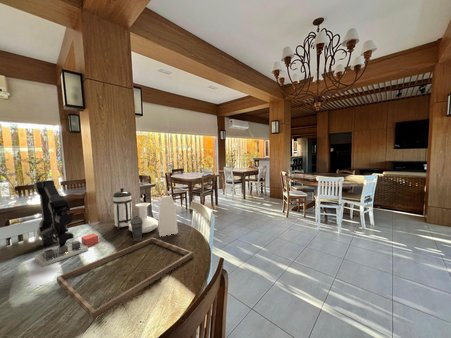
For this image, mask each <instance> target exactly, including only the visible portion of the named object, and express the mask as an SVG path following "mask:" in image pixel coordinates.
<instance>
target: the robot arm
mask: <svg viewBox="0 0 451 338" xmlns="http://www.w3.org/2000/svg"><path fill="white" fill-rule="evenodd" d="M33 189H34V190H35V193H36V194H37V195H38V196H39V199H40V201H39V202H40V210H41V221H40V222H39V225H38V228H37V231H36V232H37V236H38V237H39V238H41V243H40V244H39V245H40V246H42V247H47V246H50V245H54V244H57V245H58V248H59V247H60V246H63V245H66V243H67V241H68V240H71V239H74V233H71V231H70V232H69V229H68V227H67V226H68V225H69V224H71V223H72V221H73V216H72V215H71V214H70V213H68V212H71V205H70V203H69V201H68V199H66V197H65V196H63V195H61V194H60V193H59V191H58V189H57V187H56V185H55V181H54V180H51V179H48V180H38V181H35V183H33Z"/></svg>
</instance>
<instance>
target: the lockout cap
mask: <svg viewBox="0 0 451 338" xmlns="http://www.w3.org/2000/svg"><path fill="white" fill-rule="evenodd" d="M80 238H81V243H82V244H84V245H86V246H87V247H88V248H89V247H90V246H92V245H96V244H99V236H98V235H97V234H95V233H91V234H87V235H84V236H81V237H80Z"/></svg>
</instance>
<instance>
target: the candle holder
mask: <svg viewBox="0 0 451 338" xmlns="http://www.w3.org/2000/svg"><path fill="white" fill-rule="evenodd" d="M150 205H151V202H140V203H136V204H135V207H137V208H138V213H139V214H138V216H140V217H141V218H142V220H143V224H142V234H145V233H150V232H151V231H154V230H155V229H157V227H158V226H159V219H158V220H157V219H156V218H155V217H151V216H148V207H149V206H150ZM128 230H129V231H131V232H132V226H131V223H130V224H129V225H128Z"/></svg>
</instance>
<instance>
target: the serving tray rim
mask: <svg viewBox="0 0 451 338" xmlns="http://www.w3.org/2000/svg"><path fill="white" fill-rule="evenodd" d="M151 243H153V244H157V245H159V246H161V247H164V248H167V249H169V250H171V251H173V252H176V253H179V254H181V255H184V256H183V257H180V258H179V259H177V260H176V261H174V262H172V263H171V264H168V265H167V266H165V267H164V268H162V269H161V270H159V271H157V272H156V273H154V274H152V275H150V276H149V277H147V278H146V279H144V280H143V281H140V282H139V283H137V284H135V285H134V286H132V287H131V288H128V289H127V290H126V291H124V292H123V293H121V294H119V295H117V296H115V297H113V298H112V299H111V300H109V301H107V302H106V303H104V304H102V305H100V306H99V307H97V308H96V309H95V308H94V307H93V306H92V305H91V304H90V303H88V301H87V300H85V298H84V297H82V296H81V295H80V294H79V293H78V292H77V291H76V290H75V289H74V288H73V287H72V286H71V285H70V284H69V283H68V282H67V281H66V280H68V279H72V278H73V277H76V276H78V275H80V274H83V273H86V272H87V271H89V270H92V269H95V268H96V267H98V266H101V265H103V264H105V263H108V262H110V261H112V260H114V259H115V260H116V259H117V258H120V257H121V256H124V255H126V254H129V253H131V252H133V251H135V250H138V249H140V248H142V247H145V246H147V245H149V244H151ZM193 257H194V252H193V251H190V250H187V249H185V248H182V247H179V246H177V245H174V244H171V243H170V242H169V243H168V242H167V241H164V240H161V239H158V238H156V237H153V236H152V237H150V238H148V239H145V240H143V241H141V242H138V243H136V244H133V245H131V246H129V247H126V248H124V249H122V250H119V251H117V252H113V253H112V254H109V255H106V256H104V257H102V258H99V259H97V260H95V261H92V262H90V263H87V264H85V265H83V266H80V267H77V268H75V269H73V270H71V271H68V272H65V273H63V274H61V275H59V276H56V283H57V284H58V285H59V286H60V287H61V288H62V289H63V290H64V291H65V292H66V294H67V295H69V297H71V299H73V301H74V302H75V301H76V302H77V303H78V304H79V305H80V306H81V307H82V308H83V309H84V310H85V311H86V312H87V313H88V314H89V315H90V316H91V317H92V318H93V319H94V318H95V317H97V316H99V315H101V314H102V313H104V312H105V313H107V312H108V310H109V309H110V310H112V309H113V308H115V307H116V306H118V305H120V304H122V303H123V302H124V301H126V300H128V299H129V298H131V297H132V296H134V295H135V294H137V293H139V292H140V291H142V290H143V289H145V288H146V287H148V286H149V284H150V285H151V284H153V283H154V282H156V281H157V280H159V279H160V277H161V278H162V277H164V276H165V275H167V274H168V273H170V272H172V271H173V270H174V268H175V269H176V268H178V267H180V266H181V265H182V263H183V264H184V263H186V262H187V261H189V260H190V259H192V258H193ZM177 266H178V267H177ZM171 270H172V271H171ZM169 271H170V272H169ZM166 273H167V274H166ZM163 275H164V276H163ZM155 280H156V281H155ZM144 287H145V288H144ZM138 291H139V292H138ZM133 294H134V295H133ZM130 296H131V297H130ZM76 302H75V303H76ZM77 303H76V304H77ZM119 303H120V304H119ZM78 304H77V305H78ZM79 305H78V306H79ZM114 306H115V307H114ZM81 307H80V308H81ZM82 308H81V309H82ZM111 308H112V309H111ZM83 309H82V310H83ZM84 310H83V311H84ZM110 310H109V311H110ZM85 311H84V312H85ZM106 311H107V312H106ZM86 312H85V313H86ZM87 313H86V314H87ZM105 313H104V314H105ZM88 314H87V315H88ZM89 315H88V316H89ZM102 315H103V314H102ZM102 315H101V316H102ZM90 316H89V317H90ZM91 317H90V318H91ZM99 317H100V316H99ZM92 318H91V319H92ZM93 319H92V320H93ZM94 320H95V319H94Z"/></svg>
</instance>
